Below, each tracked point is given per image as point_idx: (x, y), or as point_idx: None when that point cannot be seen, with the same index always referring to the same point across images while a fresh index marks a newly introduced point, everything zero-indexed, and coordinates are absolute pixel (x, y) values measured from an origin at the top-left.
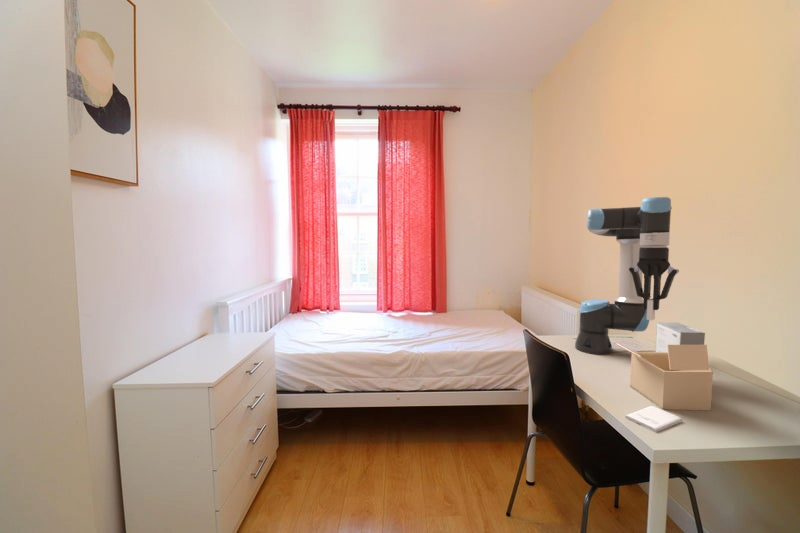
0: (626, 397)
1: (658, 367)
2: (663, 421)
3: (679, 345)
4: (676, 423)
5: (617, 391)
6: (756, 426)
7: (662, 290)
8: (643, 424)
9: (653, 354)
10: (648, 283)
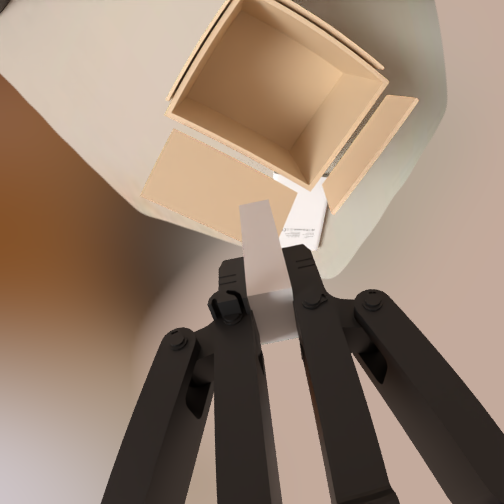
0: None
1: (296, 194)
2: (316, 217)
3: (359, 180)
4: None
5: None
6: (411, 84)
7: (382, 396)
8: None
9: (207, 49)
10: (278, 474)
